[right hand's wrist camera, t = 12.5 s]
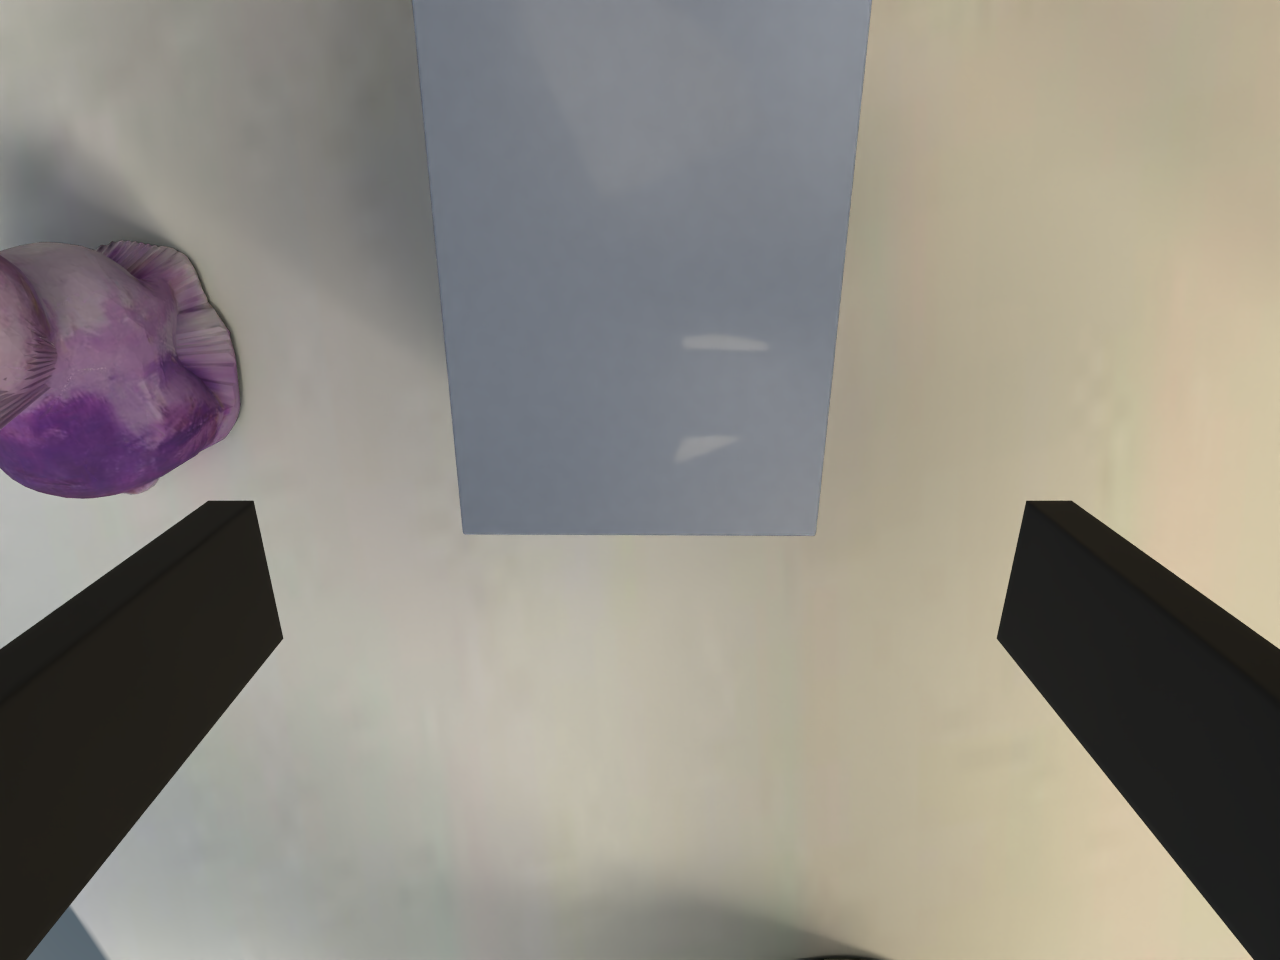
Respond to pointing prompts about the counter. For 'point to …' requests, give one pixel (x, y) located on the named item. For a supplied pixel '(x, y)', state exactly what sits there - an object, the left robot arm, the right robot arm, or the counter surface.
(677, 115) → the cabinet
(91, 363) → the figurine
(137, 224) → the counter surface
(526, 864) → the counter surface
